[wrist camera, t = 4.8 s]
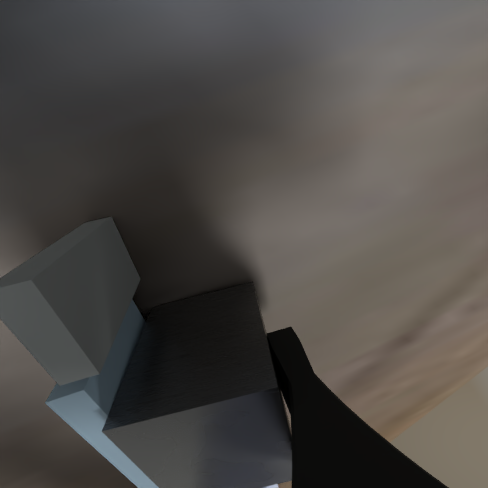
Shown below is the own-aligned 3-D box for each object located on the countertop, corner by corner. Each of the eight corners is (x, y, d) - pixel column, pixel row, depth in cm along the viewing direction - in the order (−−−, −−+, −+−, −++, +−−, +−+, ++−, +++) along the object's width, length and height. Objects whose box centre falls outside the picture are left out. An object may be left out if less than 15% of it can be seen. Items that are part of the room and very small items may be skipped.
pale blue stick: (208, 430, 15) (212, 530, 11) (194, 436, 15) (193, 538, 11) (129, 293, 10) (83, 390, 6) (106, 300, 10) (44, 403, 6)
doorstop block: (274, 361, 13) (303, 477, 9) (193, 382, 13) (179, 508, 9) (252, 281, 10) (277, 387, 6) (152, 307, 11) (101, 431, 6)
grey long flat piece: (220, 450, 17) (228, 550, 12) (207, 455, 17) (211, 557, 12) (111, 216, 9) (31, 280, 4) (84, 222, 8) (-23, 293, 4)
